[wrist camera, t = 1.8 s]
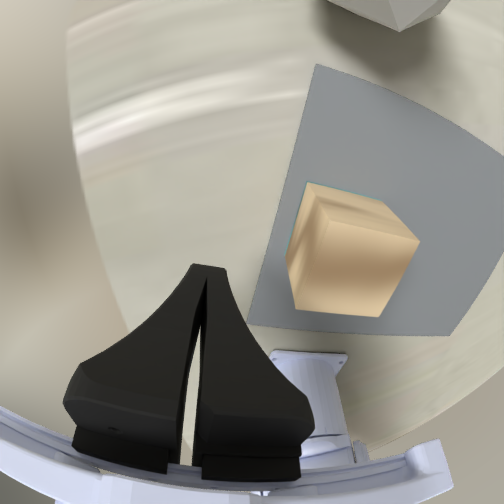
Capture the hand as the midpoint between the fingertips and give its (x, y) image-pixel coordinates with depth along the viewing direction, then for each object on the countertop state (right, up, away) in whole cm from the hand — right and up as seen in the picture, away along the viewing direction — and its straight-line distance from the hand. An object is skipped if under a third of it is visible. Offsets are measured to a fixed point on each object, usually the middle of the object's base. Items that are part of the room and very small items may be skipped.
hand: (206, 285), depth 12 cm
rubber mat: (+15, +2, +9) cm, 18 cm away
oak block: (+7, +3, +8) cm, 11 cm away
